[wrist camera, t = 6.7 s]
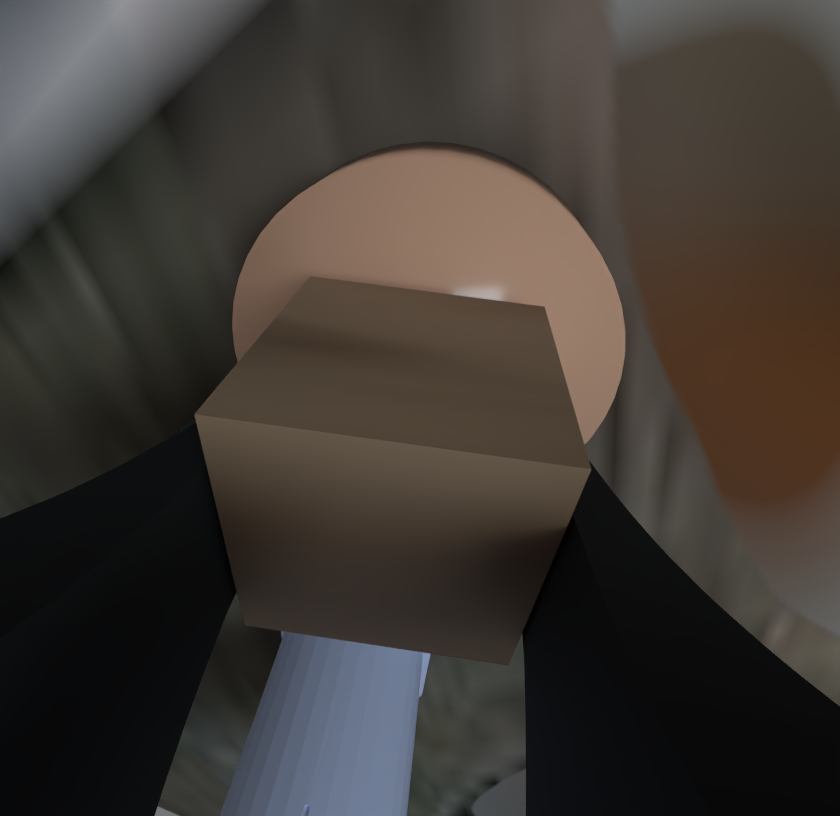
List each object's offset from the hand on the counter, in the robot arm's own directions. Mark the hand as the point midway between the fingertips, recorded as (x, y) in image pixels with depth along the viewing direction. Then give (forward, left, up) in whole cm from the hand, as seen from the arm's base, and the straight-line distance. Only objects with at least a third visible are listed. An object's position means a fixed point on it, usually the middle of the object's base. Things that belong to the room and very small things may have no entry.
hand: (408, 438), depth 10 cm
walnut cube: (0, 0, -2) cm, 2 cm away
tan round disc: (0, 0, -5) cm, 5 cm away
